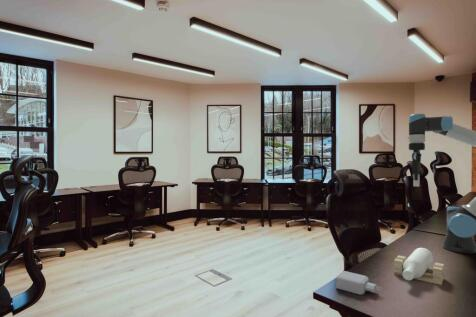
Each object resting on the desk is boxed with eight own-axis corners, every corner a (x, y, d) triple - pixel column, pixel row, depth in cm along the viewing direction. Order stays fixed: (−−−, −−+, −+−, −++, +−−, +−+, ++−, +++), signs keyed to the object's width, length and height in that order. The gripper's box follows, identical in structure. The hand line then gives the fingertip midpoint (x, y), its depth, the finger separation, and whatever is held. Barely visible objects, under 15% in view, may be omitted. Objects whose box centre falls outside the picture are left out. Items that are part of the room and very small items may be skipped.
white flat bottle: (378, 301, 105) (335, 289, 114) (383, 291, 112) (343, 281, 121) (378, 287, 105) (336, 277, 114) (384, 279, 112) (343, 269, 121)
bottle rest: (398, 268, 134) (398, 255, 134) (443, 278, 123) (443, 264, 123) (394, 273, 128) (394, 260, 128) (441, 285, 117) (441, 269, 117)
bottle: (437, 262, 133) (423, 283, 111) (419, 267, 138) (403, 288, 115) (426, 244, 136) (411, 262, 113) (409, 250, 140) (392, 268, 118)
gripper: (411, 143, 168) (410, 184, 169) (406, 142, 158) (406, 186, 159) (426, 143, 164) (426, 185, 164) (423, 142, 153) (422, 187, 154)
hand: (416, 186), depth 161 cm, fingers closed
